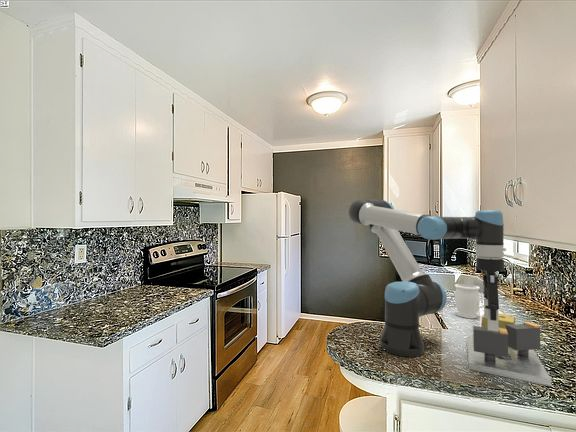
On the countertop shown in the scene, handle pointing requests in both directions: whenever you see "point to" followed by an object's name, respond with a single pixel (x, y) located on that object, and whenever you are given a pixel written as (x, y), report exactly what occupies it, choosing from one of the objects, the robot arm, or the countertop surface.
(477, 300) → the jar
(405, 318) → the robot arm
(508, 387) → the countertop surface
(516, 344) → the orange-capped gray block
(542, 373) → the level plate
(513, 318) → the cheese
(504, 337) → the knob
